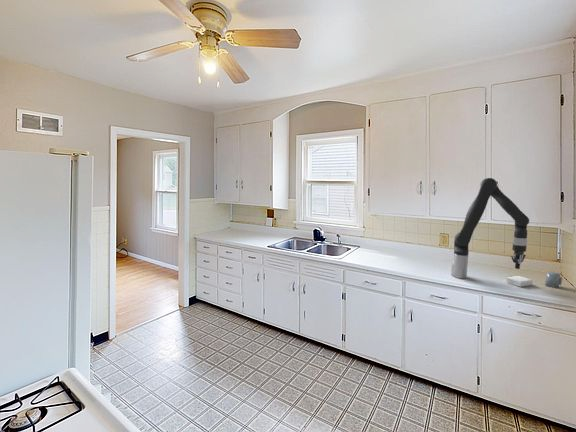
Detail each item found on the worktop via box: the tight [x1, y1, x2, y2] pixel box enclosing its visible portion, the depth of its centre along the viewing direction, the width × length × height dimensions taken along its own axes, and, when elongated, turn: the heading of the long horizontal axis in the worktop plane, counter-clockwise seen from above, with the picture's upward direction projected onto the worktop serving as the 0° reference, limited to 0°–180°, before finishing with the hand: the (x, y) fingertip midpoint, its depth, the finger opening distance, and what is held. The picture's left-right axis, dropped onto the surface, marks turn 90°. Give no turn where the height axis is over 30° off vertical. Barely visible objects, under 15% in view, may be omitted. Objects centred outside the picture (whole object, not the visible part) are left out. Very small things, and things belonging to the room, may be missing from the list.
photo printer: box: [506, 275, 534, 288], centre depth 208 cm, size 10×4×12 cm
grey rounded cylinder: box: [544, 271, 563, 289], centre depth 203 cm, size 8×7×9 cm
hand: (517, 268), depth 207 cm, fingers closed
